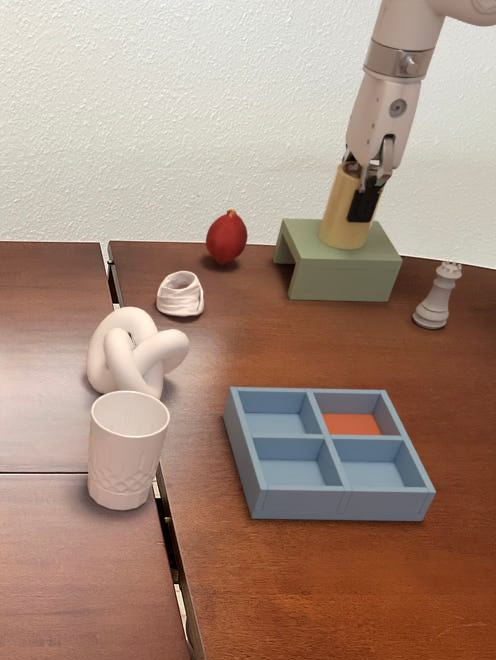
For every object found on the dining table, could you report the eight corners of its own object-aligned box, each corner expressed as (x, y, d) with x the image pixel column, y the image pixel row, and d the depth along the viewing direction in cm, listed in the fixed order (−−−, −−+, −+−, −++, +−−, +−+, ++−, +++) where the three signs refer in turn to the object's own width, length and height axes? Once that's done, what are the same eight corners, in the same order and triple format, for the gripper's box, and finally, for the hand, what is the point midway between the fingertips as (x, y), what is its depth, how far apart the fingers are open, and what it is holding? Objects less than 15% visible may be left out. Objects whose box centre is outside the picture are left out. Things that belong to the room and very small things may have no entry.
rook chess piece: (433, 333, 120) (458, 277, 114) (405, 320, 122) (427, 263, 116) (451, 323, 122) (476, 266, 116) (422, 309, 124) (445, 253, 118)
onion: (212, 250, 133) (224, 195, 127) (247, 262, 131) (260, 207, 125) (194, 265, 130) (205, 209, 124) (229, 277, 128) (242, 221, 122)
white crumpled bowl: (204, 330, 120) (215, 297, 116) (155, 323, 120) (164, 290, 116) (199, 296, 125) (209, 264, 121) (152, 289, 124) (161, 257, 120)
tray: (374, 418, 107) (385, 389, 103) (422, 521, 95) (436, 492, 92) (222, 415, 106) (229, 386, 103) (251, 518, 94) (260, 489, 91)
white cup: (115, 458, 100) (126, 381, 92) (169, 492, 96) (186, 414, 89) (67, 489, 96) (74, 411, 88) (121, 525, 92) (134, 447, 85)
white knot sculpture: (173, 430, 104) (187, 362, 97) (72, 413, 105) (79, 345, 98) (183, 377, 111) (196, 310, 104) (88, 362, 112) (96, 295, 105)
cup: (358, 228, 126) (380, 160, 119) (371, 250, 122) (394, 181, 115) (312, 227, 126) (332, 159, 119) (324, 249, 122) (344, 180, 115)
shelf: (364, 261, 133) (378, 220, 128) (387, 302, 125) (403, 260, 120) (272, 258, 132) (282, 218, 128) (289, 299, 124) (301, 258, 120)
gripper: (452, 85, 102) (396, 239, 115) (406, 37, 113) (360, 183, 127) (388, 83, 102) (339, 238, 115) (348, 35, 113) (308, 181, 126)
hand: (351, 208), depth 121 cm, fingers closed on cup, 6 cm apart
